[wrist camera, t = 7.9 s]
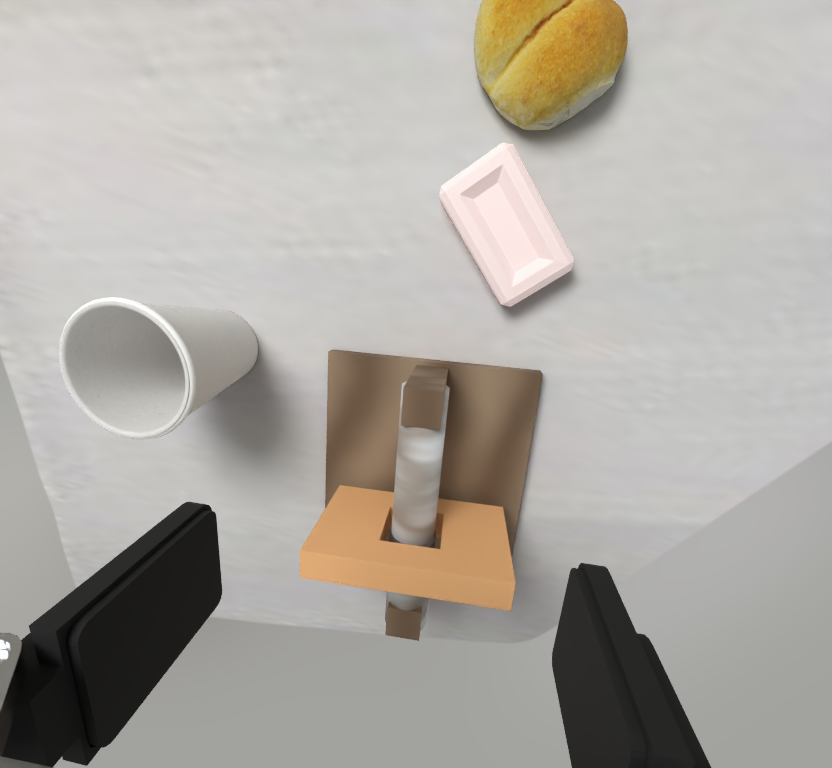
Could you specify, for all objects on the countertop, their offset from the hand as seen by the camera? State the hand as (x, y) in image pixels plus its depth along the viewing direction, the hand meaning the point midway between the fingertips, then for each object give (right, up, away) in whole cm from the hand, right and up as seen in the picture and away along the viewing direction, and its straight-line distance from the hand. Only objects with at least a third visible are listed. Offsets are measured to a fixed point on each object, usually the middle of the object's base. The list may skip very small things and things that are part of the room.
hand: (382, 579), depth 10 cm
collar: (+1, -5, +21) cm, 22 cm away
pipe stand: (+1, -2, +23) cm, 23 cm away
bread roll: (+9, +26, +15) cm, 31 cm away
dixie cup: (-15, +8, +22) cm, 28 cm away
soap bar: (+7, +16, +18) cm, 25 cm away
